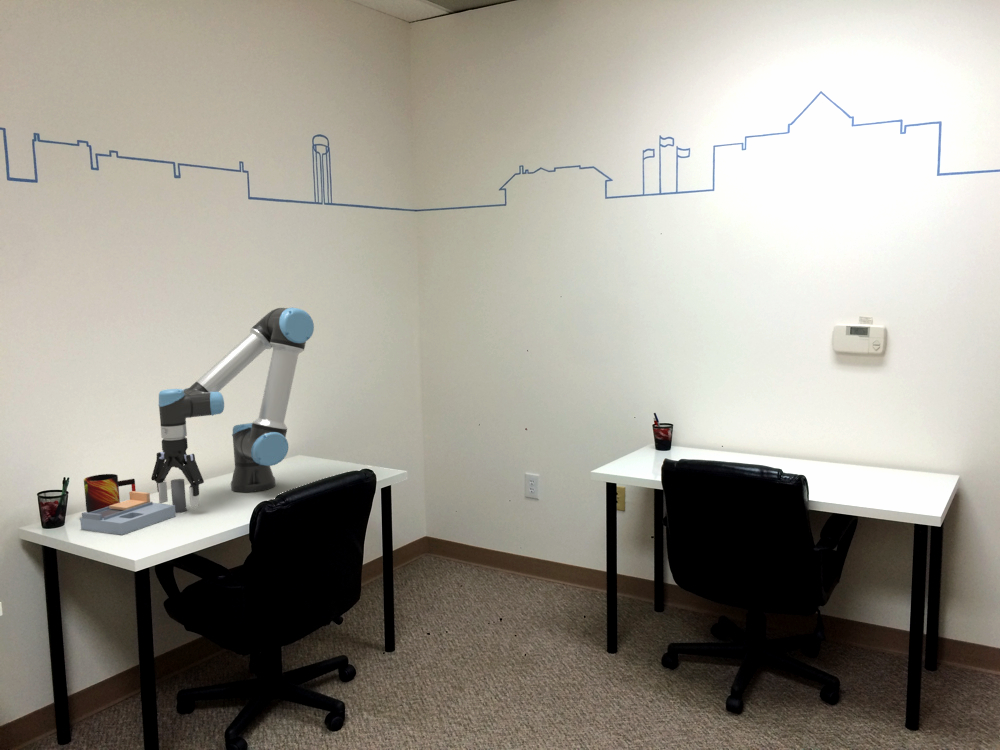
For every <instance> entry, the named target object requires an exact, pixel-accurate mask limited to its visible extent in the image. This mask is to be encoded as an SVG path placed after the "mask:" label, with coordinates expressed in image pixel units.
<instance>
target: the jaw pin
mask: <svg viewBox="0 0 1000 750" xmlns="http://www.w3.org/2000/svg"><path fill="white" fill-rule="evenodd" d="M185 487H186V486H185V479H184V478H176V479H175V478H174V479H172V480H170V491H171V501H172V502H171V503H172V504H171V505H175V512H176V514H178V513H184V512H186V511H187V499H186V488H185Z"/></svg>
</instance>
